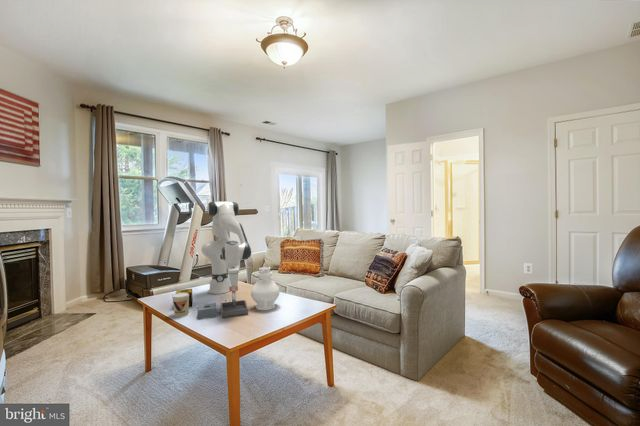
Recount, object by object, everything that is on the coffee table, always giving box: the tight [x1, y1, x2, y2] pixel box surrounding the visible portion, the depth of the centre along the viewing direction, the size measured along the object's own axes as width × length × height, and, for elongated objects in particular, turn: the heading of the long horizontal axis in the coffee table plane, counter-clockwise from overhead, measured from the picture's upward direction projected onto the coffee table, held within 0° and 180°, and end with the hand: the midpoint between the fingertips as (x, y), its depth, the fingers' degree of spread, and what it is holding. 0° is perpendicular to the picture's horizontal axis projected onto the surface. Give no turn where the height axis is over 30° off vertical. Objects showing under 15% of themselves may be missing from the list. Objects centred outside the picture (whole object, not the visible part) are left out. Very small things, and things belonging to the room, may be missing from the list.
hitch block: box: [197, 302, 217, 320], centre depth 183 cm, size 10×10×5 cm
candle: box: [174, 288, 194, 308], centre depth 201 cm, size 10×10×10 cm
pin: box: [229, 285, 239, 307], centre depth 188 cm, size 2×5×12 cm, turn 109°
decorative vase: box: [250, 266, 280, 311], centre depth 195 cm, size 18×18×25 cm
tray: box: [220, 299, 249, 319], centre depth 188 cm, size 18×15×4 cm
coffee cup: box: [172, 293, 190, 318], centre depth 185 cm, size 9×9×12 cm
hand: (233, 290), depth 188 cm, fingers closed on pin, 2 cm apart
